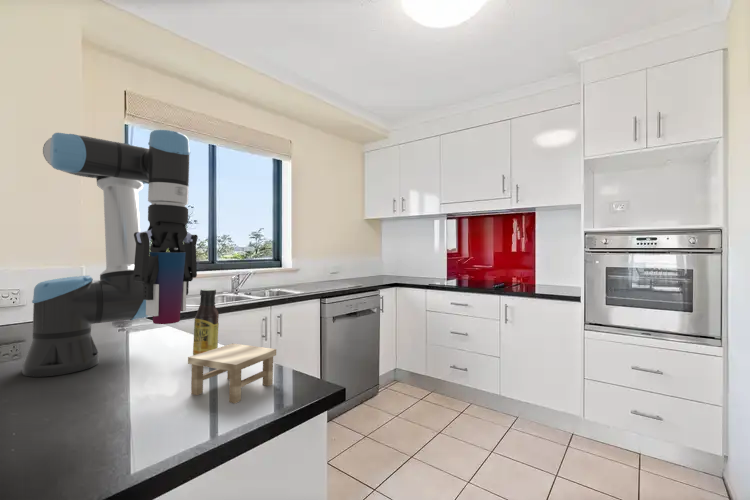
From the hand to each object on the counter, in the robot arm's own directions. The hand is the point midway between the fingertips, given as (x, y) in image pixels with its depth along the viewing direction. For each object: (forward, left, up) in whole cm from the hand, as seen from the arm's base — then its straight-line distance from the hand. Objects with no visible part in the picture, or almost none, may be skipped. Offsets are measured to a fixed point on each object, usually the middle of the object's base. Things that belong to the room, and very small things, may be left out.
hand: (166, 312), depth 80 cm
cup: (0, 0, -2) cm, 2 cm away
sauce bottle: (-12, +22, -18) cm, 30 cm away
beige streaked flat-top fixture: (+11, +8, -17) cm, 22 cm away
